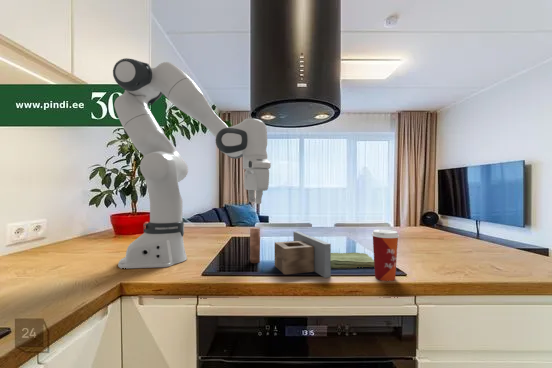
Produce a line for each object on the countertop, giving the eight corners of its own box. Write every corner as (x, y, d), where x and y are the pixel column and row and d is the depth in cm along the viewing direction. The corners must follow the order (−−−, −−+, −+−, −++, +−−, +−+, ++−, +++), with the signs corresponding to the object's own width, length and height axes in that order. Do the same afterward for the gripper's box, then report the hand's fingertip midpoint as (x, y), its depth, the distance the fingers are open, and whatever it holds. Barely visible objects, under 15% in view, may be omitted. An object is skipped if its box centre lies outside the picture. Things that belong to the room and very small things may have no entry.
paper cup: (394, 284, 81) (395, 234, 81) (367, 278, 86) (367, 231, 86) (402, 277, 87) (402, 230, 87) (376, 272, 92) (376, 228, 92)
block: (284, 274, 90) (284, 248, 90) (274, 265, 99) (274, 242, 99) (313, 271, 93) (314, 246, 93) (301, 263, 102) (301, 240, 102)
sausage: (251, 263, 102) (251, 229, 102) (248, 260, 105) (249, 227, 105) (260, 262, 103) (261, 228, 103) (258, 260, 107) (258, 227, 107)
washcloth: (380, 269, 97) (380, 260, 97) (328, 270, 96) (328, 260, 96) (366, 259, 110) (366, 250, 110) (319, 259, 109) (319, 251, 109)
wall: (324, 277, 87) (324, 244, 87) (293, 258, 109) (293, 231, 109) (330, 277, 87) (330, 243, 87) (298, 257, 110) (298, 231, 110)
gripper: (240, 165, 113) (240, 201, 113) (253, 162, 94) (253, 205, 94) (255, 166, 115) (255, 201, 115) (272, 162, 96) (272, 204, 96)
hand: (255, 202), depth 104 cm, fingers open, 7 cm apart
